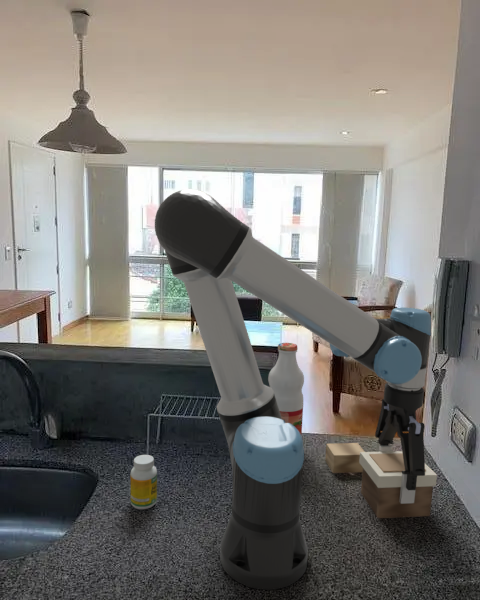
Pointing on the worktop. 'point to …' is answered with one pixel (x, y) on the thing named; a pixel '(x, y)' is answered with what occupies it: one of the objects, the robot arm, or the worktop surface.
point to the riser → (344, 457)
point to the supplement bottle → (143, 482)
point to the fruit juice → (288, 385)
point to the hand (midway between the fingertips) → (394, 487)
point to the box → (395, 500)
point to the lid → (391, 469)
